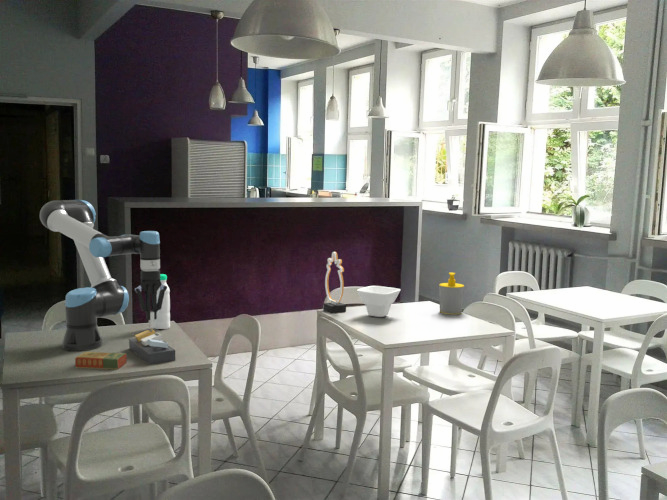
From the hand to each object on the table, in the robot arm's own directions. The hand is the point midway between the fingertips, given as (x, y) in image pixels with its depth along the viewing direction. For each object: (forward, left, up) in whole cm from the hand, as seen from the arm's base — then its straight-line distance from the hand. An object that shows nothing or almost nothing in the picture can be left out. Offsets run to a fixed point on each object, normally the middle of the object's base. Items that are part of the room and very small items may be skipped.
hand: (151, 327), depth 249 cm
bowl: (+117, 0, -9) cm, 118 cm away
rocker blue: (-3, -15, -3) cm, 15 cm away
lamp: (+105, +22, -9) cm, 108 cm away
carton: (-23, -11, -10) cm, 27 cm away
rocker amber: (-3, 0, -3) cm, 4 cm away
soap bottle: (+157, -12, -9) cm, 158 cm away
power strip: (-3, -3, -9) cm, 10 cm away
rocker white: (-3, -7, -3) cm, 8 cm away
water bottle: (+15, +32, -9) cm, 36 cm away
